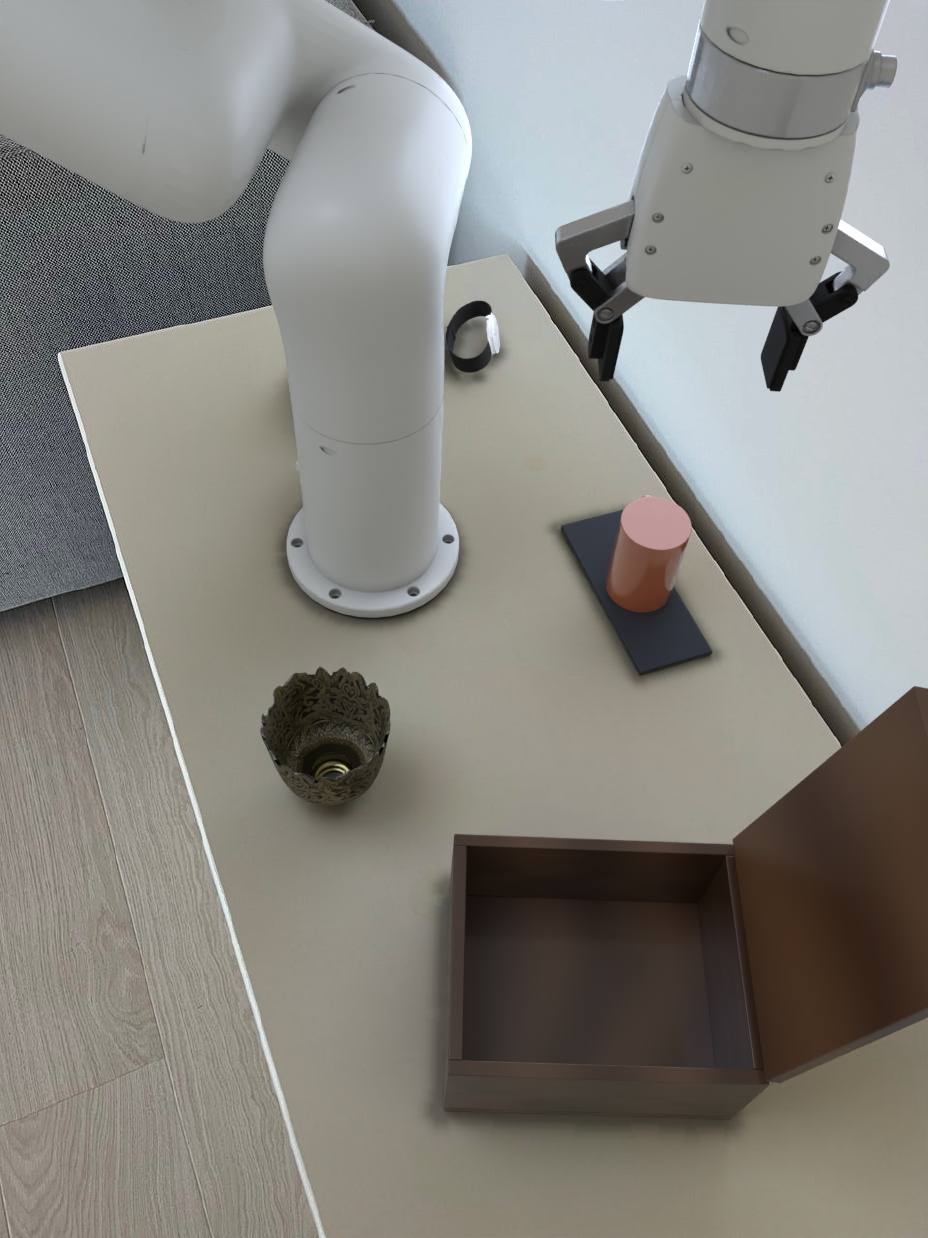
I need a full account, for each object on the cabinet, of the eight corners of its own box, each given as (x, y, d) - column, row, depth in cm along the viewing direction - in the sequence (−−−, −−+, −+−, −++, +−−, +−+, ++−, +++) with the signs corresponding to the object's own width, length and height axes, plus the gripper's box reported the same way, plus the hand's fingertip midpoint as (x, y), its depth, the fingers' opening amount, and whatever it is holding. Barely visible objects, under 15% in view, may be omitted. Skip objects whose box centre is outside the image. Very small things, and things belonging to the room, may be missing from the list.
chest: (443, 1111, 57) (447, 1075, 51) (449, 888, 65) (454, 833, 58) (731, 1120, 58) (770, 1085, 51) (704, 897, 65) (736, 843, 59)
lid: (993, 979, 38) (1012, 981, 39) (914, 685, 46) (930, 688, 46) (765, 1082, 51) (780, 1083, 51) (731, 839, 58) (745, 841, 58)
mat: (560, 528, 82) (561, 525, 81) (627, 511, 83) (627, 508, 83) (639, 675, 74) (640, 672, 74) (711, 654, 75) (712, 651, 75)
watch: (496, 381, 91) (499, 347, 88) (440, 376, 91) (442, 342, 88) (501, 322, 96) (504, 288, 93) (449, 318, 96) (450, 283, 93)
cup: (308, 716, 71) (298, 647, 65) (410, 756, 70) (411, 690, 63) (253, 811, 67) (236, 747, 60) (360, 855, 65) (355, 795, 59)
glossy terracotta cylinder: (674, 614, 77) (695, 551, 71) (607, 611, 77) (623, 548, 71) (665, 545, 81) (685, 480, 75) (602, 542, 81) (617, 477, 75)
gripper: (942, 46, 51) (823, 336, 65) (577, 21, 50) (536, 319, 64) (984, 133, 46) (847, 424, 60) (585, 106, 46) (538, 406, 60)
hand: (686, 370), depth 62 cm, fingers open, 9 cm apart
